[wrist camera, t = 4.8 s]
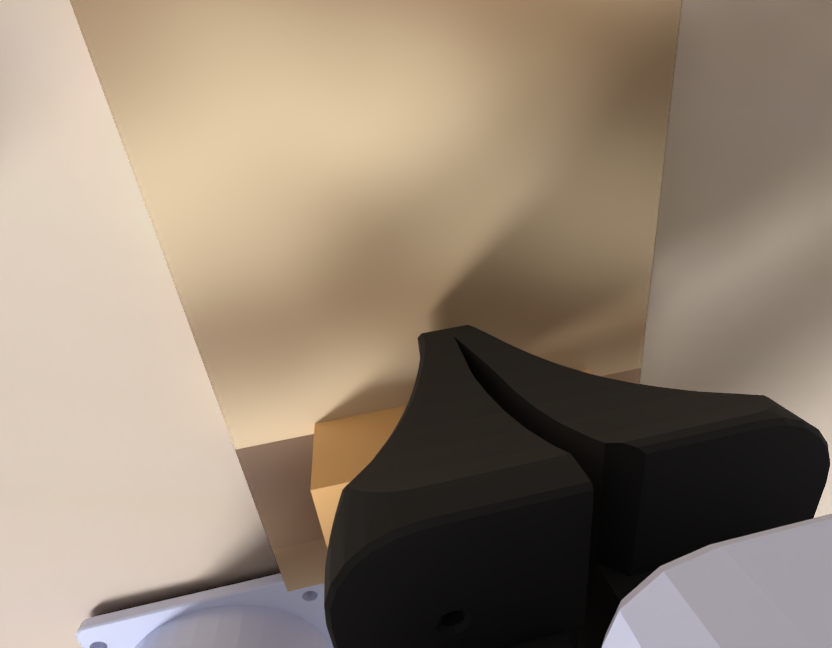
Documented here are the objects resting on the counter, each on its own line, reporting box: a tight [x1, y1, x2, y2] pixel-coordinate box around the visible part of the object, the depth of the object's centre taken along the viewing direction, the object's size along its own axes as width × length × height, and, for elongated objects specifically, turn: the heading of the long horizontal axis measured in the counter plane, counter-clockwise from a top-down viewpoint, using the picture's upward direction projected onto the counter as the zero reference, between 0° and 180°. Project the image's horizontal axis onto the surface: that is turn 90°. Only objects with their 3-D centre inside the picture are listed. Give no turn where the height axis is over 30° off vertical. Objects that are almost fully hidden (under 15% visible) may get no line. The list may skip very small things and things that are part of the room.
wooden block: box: [310, 369, 591, 549], centre depth 13 cm, size 6×8×2 cm
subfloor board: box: [70, 0, 682, 592], centre depth 12 cm, size 17×12×1 cm
